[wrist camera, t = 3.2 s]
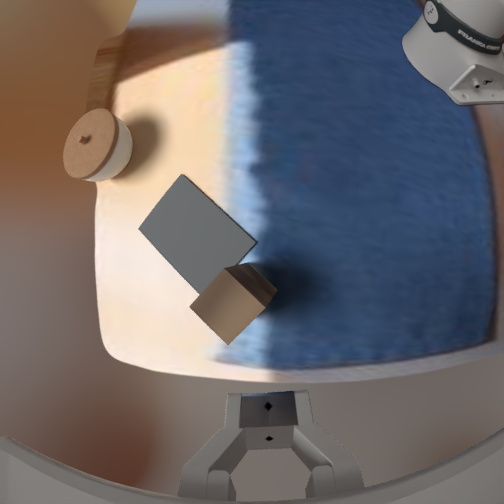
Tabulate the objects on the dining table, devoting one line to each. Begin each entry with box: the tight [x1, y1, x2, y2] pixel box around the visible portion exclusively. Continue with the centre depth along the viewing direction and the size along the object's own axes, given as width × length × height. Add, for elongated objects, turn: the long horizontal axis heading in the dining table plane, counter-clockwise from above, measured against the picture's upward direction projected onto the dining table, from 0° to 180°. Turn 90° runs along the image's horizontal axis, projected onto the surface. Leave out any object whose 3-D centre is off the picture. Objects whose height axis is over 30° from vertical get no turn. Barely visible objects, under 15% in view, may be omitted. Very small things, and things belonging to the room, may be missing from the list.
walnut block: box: [190, 262, 278, 345], centre depth 30 cm, size 5×5×11 cm
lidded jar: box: [63, 108, 133, 182], centre depth 35 cm, size 11×11×9 cm
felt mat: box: [138, 174, 256, 294], centre depth 36 cm, size 14×10×1 cm
